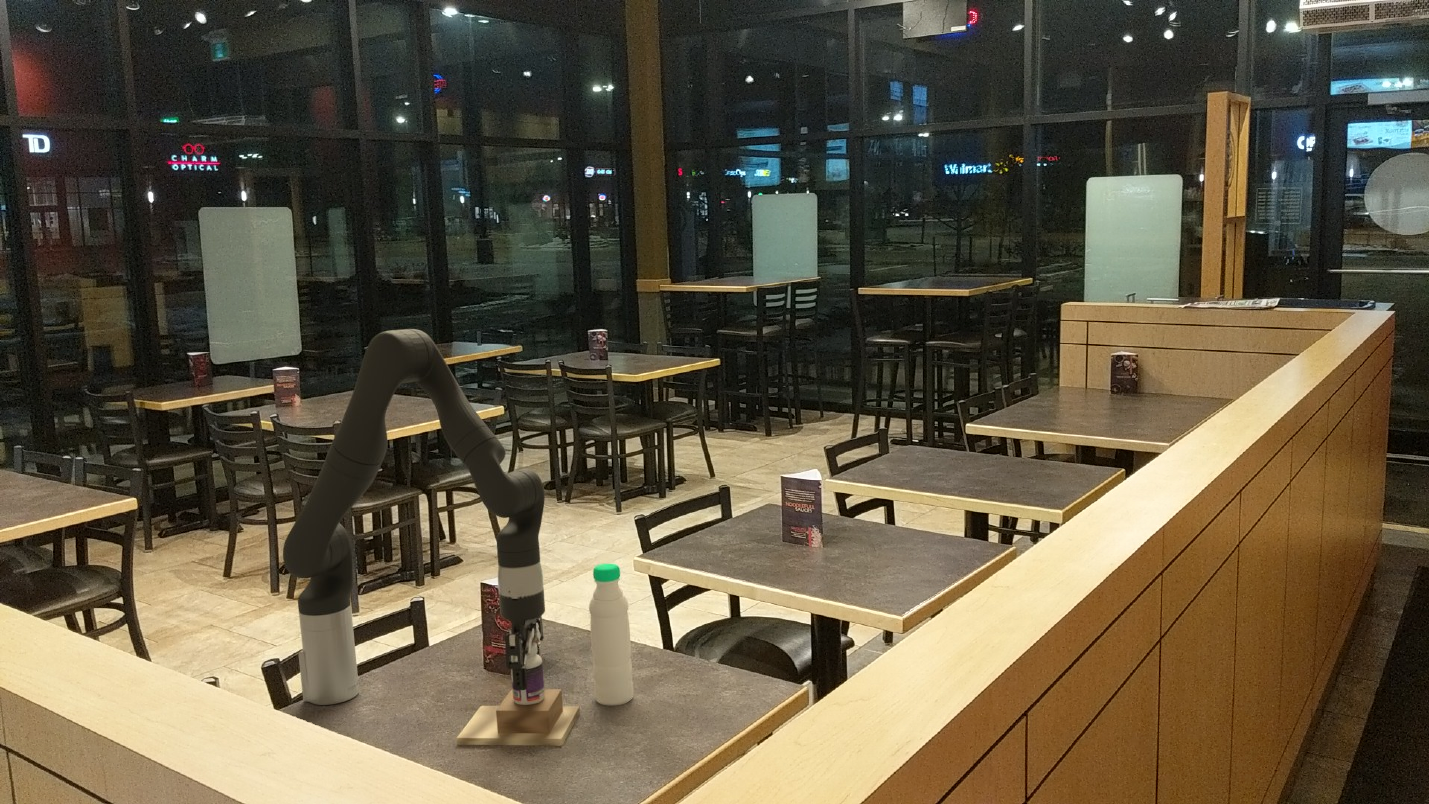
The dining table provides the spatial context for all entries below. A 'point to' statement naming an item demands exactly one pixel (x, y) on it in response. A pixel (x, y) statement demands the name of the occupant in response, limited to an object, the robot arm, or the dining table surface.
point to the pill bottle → (531, 680)
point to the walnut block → (530, 714)
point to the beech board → (486, 733)
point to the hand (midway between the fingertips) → (527, 679)
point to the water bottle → (610, 638)
